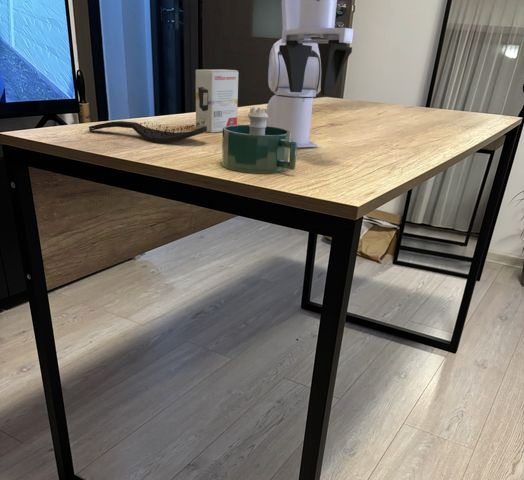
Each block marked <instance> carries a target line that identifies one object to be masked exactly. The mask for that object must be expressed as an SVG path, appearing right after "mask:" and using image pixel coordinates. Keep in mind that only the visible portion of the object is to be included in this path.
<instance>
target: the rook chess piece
mask: <svg viewBox="0 0 524 480" xmlns="http://www.w3.org/2000/svg"><path fill="white" fill-rule="evenodd" d="M247 118H248V119H249V121H250V122H249V124H248V125H249V127H250V133H249V134H253V135H265V128H266V119H267V118H268V115H267V108H261V107H257V109H256V107H250V109H249V113H247Z"/></svg>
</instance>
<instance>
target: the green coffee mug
mask: <svg viewBox="0 0 524 480" xmlns="http://www.w3.org/2000/svg"><path fill="white" fill-rule="evenodd" d="M249 125H250V124H237V125H230V126H225V127H223V131H222V135H221V136H222V139H221V141H222V142H221V143H222V145H221V164H222V167H224V168H225V169H228V170H230V171H234V172H238V173H239V172H240V173H245V174H246V173H247V174H277V173H282V172H285V171H287V170H290V171H293V170H295V169H296V165H297V154H298V148H297V143H296V142H293V141H290V137H291V132H290V131H289V130H286V129H283V128H278V127H271V126H266V128H265V135H253V134H249V133H250V127H249Z"/></svg>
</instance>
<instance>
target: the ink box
mask: <svg viewBox="0 0 524 480" xmlns="http://www.w3.org/2000/svg"><path fill="white" fill-rule="evenodd" d="M238 99H239V71H238V70H237V69H195V130H196V129H198V128H201V126H202V127H205V126H207V131H206V133H211V134H212V133H220V132H221V133H222V132H223V127H225V126H230V125H238V104H239V103H238ZM204 120H205V123H204V124H203V123H202V121H203V122H204ZM197 122H198V123H200V125H197V126H196V124H197ZM202 124H203V125H202ZM196 127H197V128H196Z"/></svg>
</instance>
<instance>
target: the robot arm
mask: <svg viewBox="0 0 524 480" xmlns="http://www.w3.org/2000/svg"><path fill="white" fill-rule="evenodd" d="M337 3H338V0H281V21H282V30H281V38H280V39H278V40H277V41H276V42H274V43H273V44H272V46H271V49H270V52H269V57H268V72H267V74H268V75H267V83H268V88H269V89H270V91H271V92H272V93H273V94H274V95H272V96H271V97H270V98H269V100H268V103H267V106H266V113H267V115H268V118H267V119H266V121H265V125H266V126H271V127H278V128H283V129H286V130H289V131H290V132H291V137H290V141H293V142H296V143H297V149H298V148H299V149H300V148H317V147H318V143H314V142H311V141H310V135H311V127H312V126H311V124H312V114H313V104H314V98H316V97H317V95H318V94H319V93H320V95H321V96H333V95H334V92H335V89H336V87H337V84H338V79H339V77H340V75H341V72H342V71H343V70H342V69H343V67H344V66H345V64H346V62H347V60H348V59H349V57H350V55H351V54H352V52H353V47H352V46H348V44H349V45H351V44H353V40H354V30H355V29H354V28H350V27H335V25H336V16H337V15H336V14H337V6H338V5H337ZM312 37H315V38H318V37H319V39H312ZM320 38H321V39H320Z"/></svg>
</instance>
